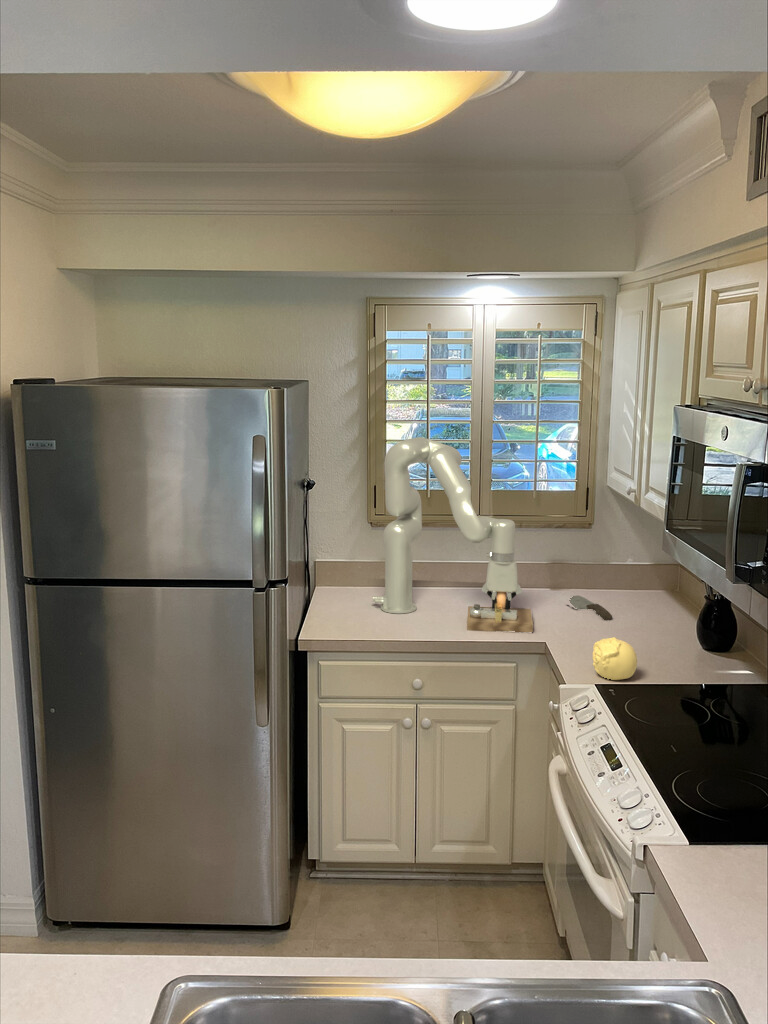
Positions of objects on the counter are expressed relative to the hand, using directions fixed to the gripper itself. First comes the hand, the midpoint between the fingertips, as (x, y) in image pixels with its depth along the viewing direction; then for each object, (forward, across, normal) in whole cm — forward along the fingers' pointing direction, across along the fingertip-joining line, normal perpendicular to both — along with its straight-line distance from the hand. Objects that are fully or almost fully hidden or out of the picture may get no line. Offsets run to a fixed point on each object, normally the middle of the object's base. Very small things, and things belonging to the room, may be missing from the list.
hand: (501, 610), depth 278 cm
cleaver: (+5, +30, +21) cm, 37 cm away
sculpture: (+4, +31, -44) cm, 54 cm away
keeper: (+1, -1, -6) cm, 6 cm away
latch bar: (+1, -3, -5) cm, 6 cm away
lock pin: (+3, 0, 0) cm, 3 cm away
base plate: (+4, 0, -1) cm, 4 cm away
